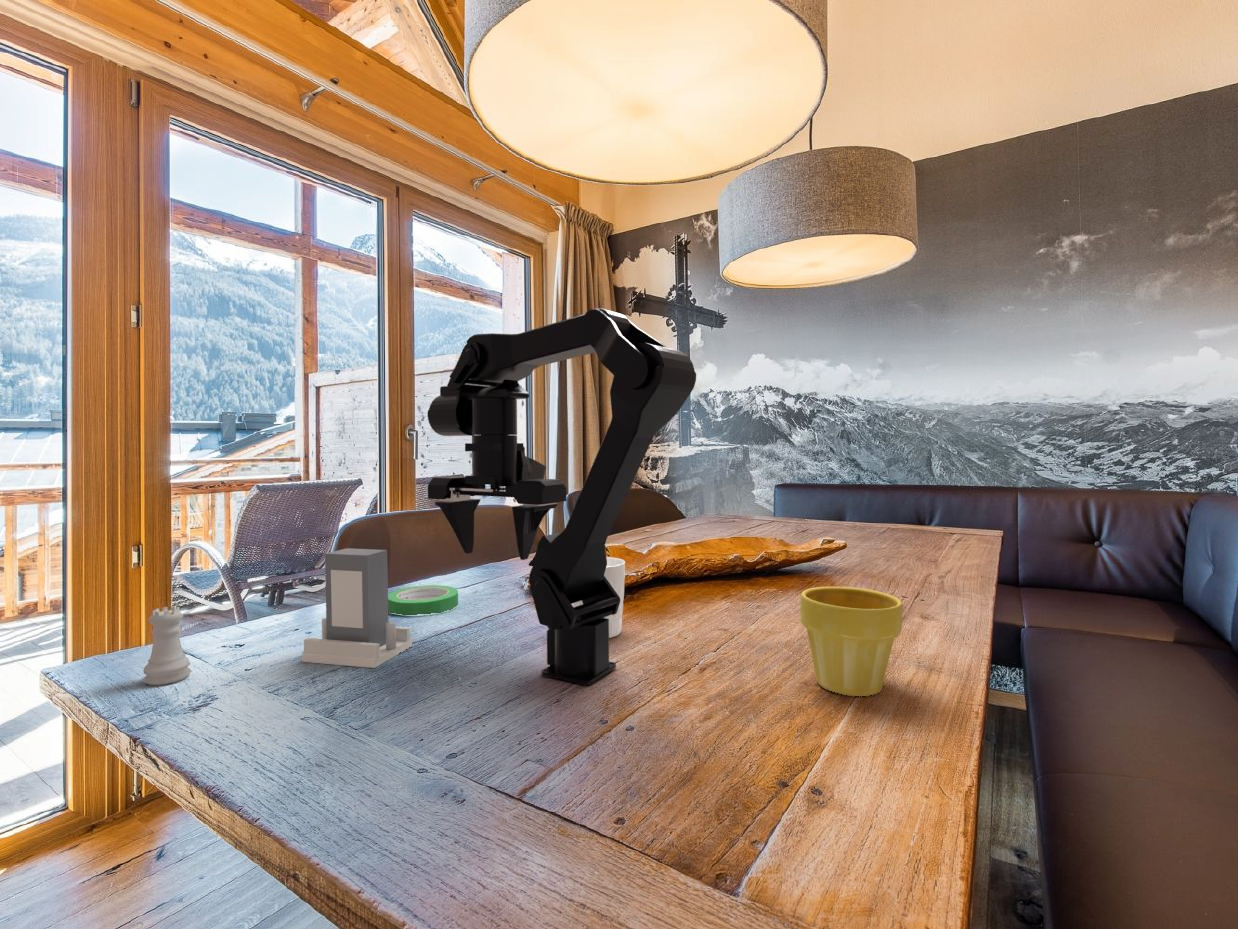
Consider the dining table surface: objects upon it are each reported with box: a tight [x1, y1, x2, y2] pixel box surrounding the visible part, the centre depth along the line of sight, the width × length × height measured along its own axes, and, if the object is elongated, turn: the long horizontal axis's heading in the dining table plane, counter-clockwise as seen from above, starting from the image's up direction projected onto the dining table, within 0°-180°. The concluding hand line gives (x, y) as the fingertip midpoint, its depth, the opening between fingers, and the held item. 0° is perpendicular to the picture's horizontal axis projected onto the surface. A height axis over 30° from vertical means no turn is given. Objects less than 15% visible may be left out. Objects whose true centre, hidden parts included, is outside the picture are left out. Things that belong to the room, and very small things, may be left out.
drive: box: [324, 547, 389, 647], centre depth 77 cm, size 6×4×12 cm, turn 76°
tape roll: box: [388, 584, 459, 615], centre depth 100 cm, size 11×11×3 cm
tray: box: [301, 617, 413, 669], centre depth 77 cm, size 10×8×4 cm
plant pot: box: [800, 586, 904, 698], centre depth 67 cm, size 10×10×10 cm
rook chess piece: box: [142, 605, 192, 687], centre depth 69 cm, size 4×4×8 cm
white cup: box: [571, 556, 626, 639], centre depth 86 cm, size 8×8×10 cm
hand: (495, 556), depth 79 cm, fingers open, 9 cm apart
